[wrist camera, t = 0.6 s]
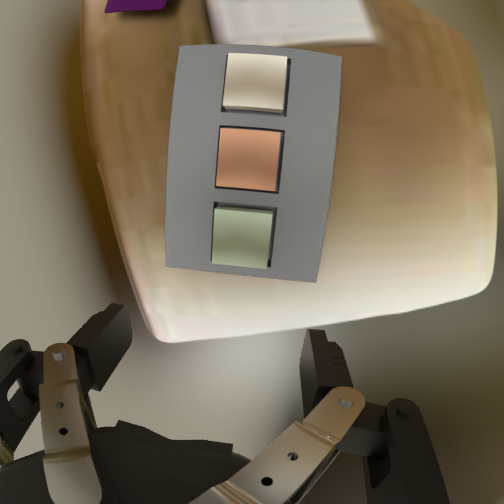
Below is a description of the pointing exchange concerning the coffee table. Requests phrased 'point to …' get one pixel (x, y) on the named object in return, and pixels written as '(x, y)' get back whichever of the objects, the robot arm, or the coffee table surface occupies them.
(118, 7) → the perfume bottle
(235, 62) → the cream tile
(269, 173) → the terracotta tile
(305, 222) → the tile board
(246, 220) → the sage tile
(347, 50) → the coffee table surface
